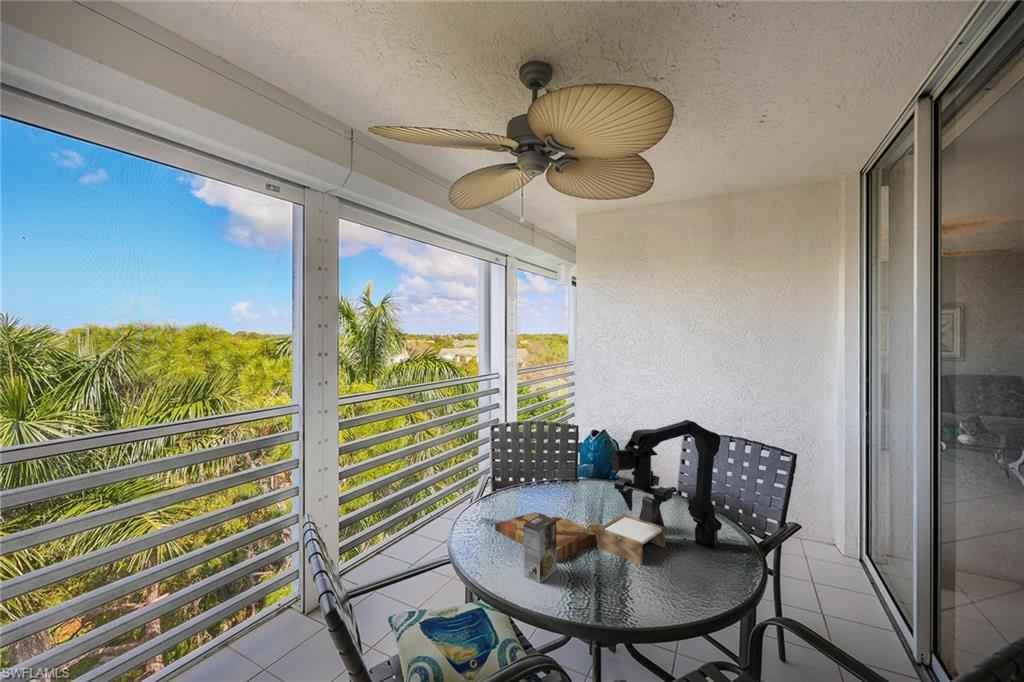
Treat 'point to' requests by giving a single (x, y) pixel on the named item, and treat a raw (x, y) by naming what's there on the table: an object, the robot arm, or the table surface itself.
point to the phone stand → (650, 513)
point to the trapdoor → (634, 530)
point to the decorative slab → (567, 534)
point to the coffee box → (540, 548)
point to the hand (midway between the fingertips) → (642, 514)
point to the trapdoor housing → (626, 541)
